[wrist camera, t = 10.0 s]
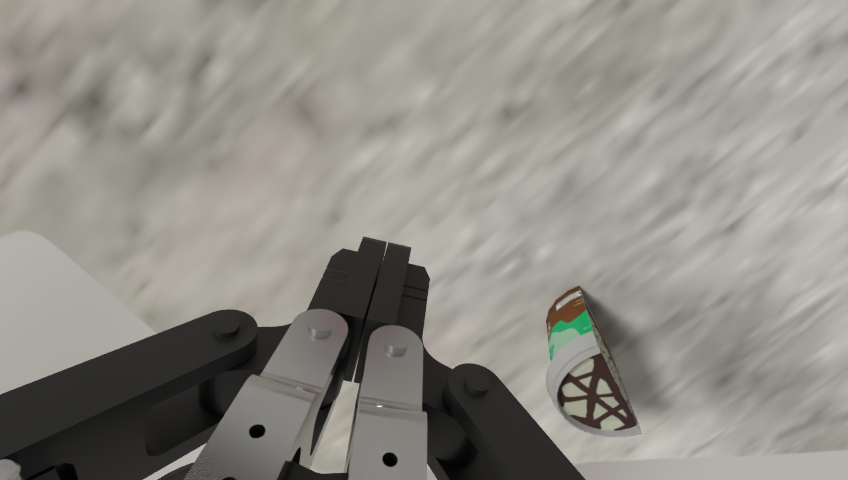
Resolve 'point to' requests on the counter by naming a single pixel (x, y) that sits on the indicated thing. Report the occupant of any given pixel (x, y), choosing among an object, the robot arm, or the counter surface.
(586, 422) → the food container
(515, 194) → the counter surface
